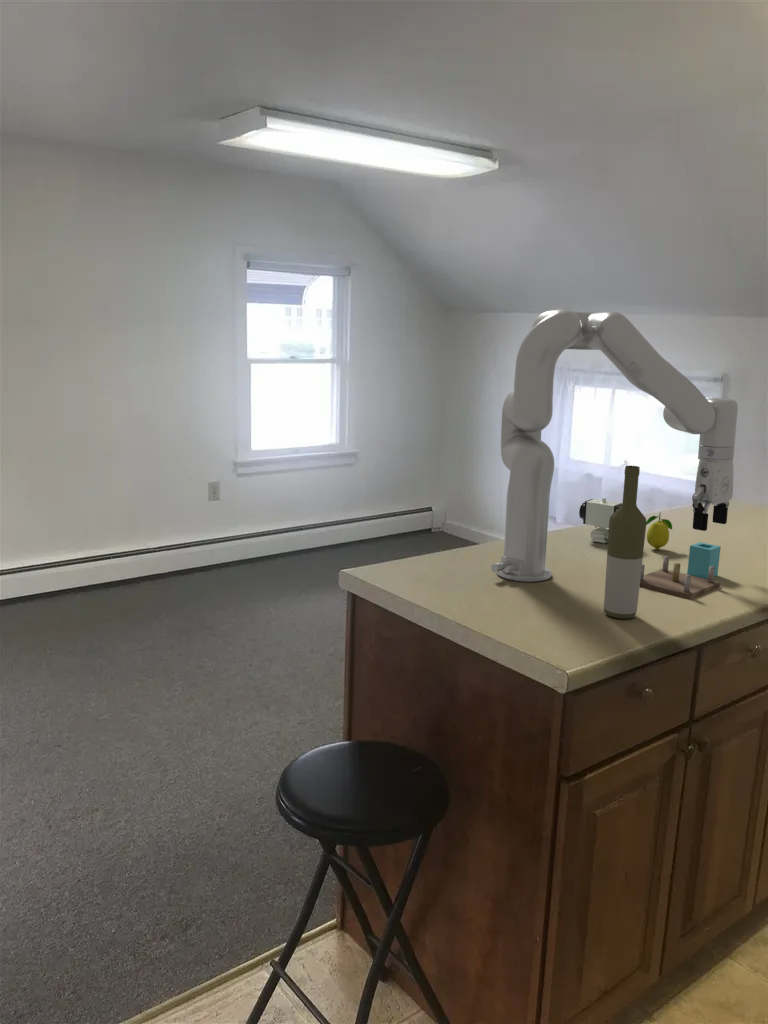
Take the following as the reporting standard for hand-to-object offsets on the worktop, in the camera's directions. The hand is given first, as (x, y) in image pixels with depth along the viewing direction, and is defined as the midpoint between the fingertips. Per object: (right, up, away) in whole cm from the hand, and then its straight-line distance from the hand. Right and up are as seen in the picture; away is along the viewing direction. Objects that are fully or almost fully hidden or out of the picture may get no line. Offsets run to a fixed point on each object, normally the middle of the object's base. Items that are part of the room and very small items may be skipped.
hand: (709, 526), depth 195 cm
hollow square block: (-1, -11, +2) cm, 12 cm away
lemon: (-4, -7, +25) cm, 26 cm away
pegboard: (-10, -13, -6) cm, 18 cm away
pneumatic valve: (-17, -5, +32) cm, 36 cm away
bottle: (-29, -17, -27) cm, 43 cm away
